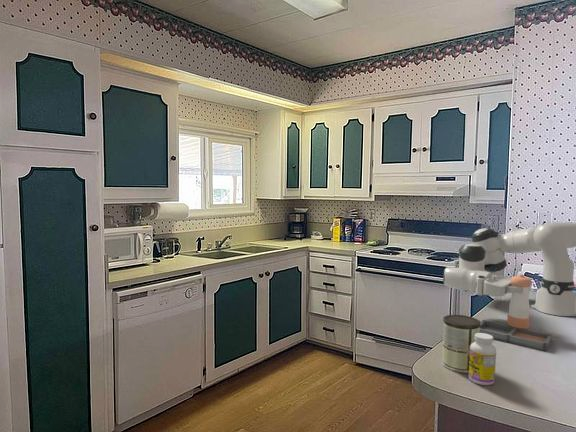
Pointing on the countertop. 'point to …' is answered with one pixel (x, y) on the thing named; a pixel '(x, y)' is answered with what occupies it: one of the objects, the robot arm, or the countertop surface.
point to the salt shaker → (519, 303)
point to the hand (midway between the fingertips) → (524, 289)
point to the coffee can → (458, 341)
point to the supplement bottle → (482, 360)
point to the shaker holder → (517, 335)
